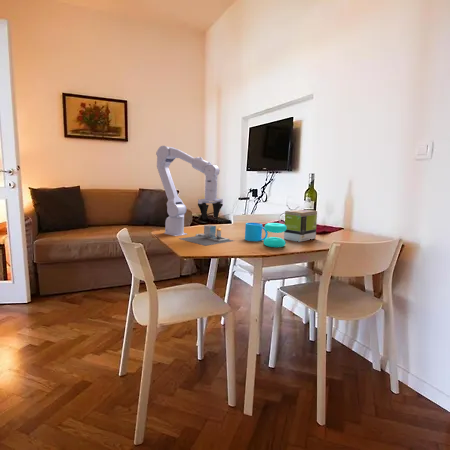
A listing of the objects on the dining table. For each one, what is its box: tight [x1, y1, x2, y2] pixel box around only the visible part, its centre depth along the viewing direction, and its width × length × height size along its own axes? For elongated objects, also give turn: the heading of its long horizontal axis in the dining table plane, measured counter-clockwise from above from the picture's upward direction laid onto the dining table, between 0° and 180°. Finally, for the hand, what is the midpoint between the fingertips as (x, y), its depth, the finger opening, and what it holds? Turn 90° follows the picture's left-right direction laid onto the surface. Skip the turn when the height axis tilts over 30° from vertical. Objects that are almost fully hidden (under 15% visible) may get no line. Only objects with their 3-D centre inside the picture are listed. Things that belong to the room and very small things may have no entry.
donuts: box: [263, 222, 287, 248], centre depth 155 cm, size 10×10×10 cm
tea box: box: [283, 208, 318, 243], centre depth 174 cm, size 15×10×15 cm, turn 134°
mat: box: [178, 235, 235, 247], centre depth 161 cm, size 19×19×1 cm
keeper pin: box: [216, 228, 222, 240], centre depth 161 cm, size 2×2×5 cm
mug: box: [244, 222, 269, 242], centre depth 165 cm, size 12×8×8 cm
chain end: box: [195, 224, 230, 242], centre depth 165 cm, size 18×7×6 cm, turn 46°
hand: (210, 218), depth 165 cm, fingers open, 7 cm apart
